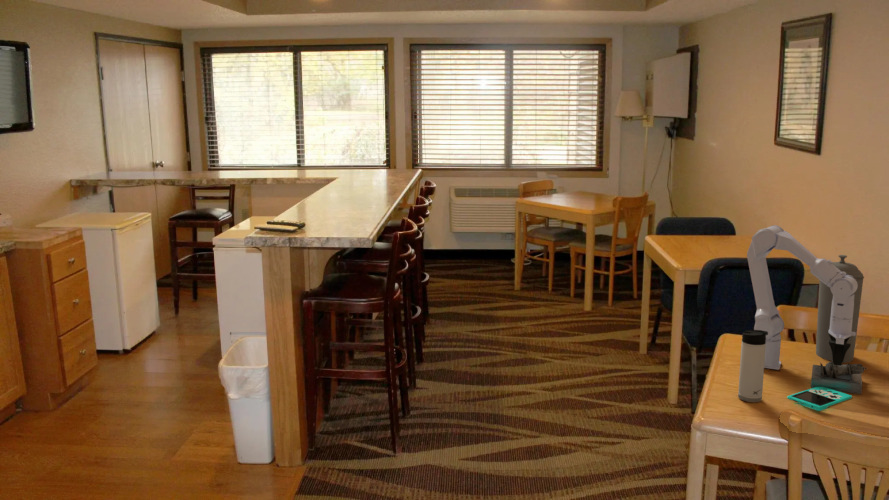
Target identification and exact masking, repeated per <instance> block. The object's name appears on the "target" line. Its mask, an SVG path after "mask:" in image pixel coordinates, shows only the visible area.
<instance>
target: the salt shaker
mask: <svg viewBox="0 0 889 500" xmlns="http://www.w3.org/2000/svg"><path fill="white" fill-rule="evenodd" d="M819 365H820V366H821V371H822V376H823V377H825V376H824V375H827V377H831V378H838V377H839V376H841V375H850V376H851V374H861V375H862V374H864V371H865V370H867V369H868V367H864V366H863V364H861V363H853V364H852V363H851V364H850V362H848V363H847V364H846V363H845V364H842V365H841V366H840V365H834V364H833V361H828V362H826V364H825V365H823V363H822V362H820V363H819ZM823 366H825V368H824V367H823Z"/></svg>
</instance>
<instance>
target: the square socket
mask: <svg viewBox="0 0 889 500" xmlns="http://www.w3.org/2000/svg"><path fill="white" fill-rule="evenodd" d="M823 367H824V368H825V365H823ZM824 376H825V377H823V376H822V371H821V365H820V364H819V365H817V364H812V369H811V377H810V379H811V380H810V388H814V387H825V388H829V389H833V390H836V391H839V392H842V393H848V394H855V395H862V389H863V380H862V373H861V374H851V376H850V375H841V376H839V377H838V378H831V377H827V375H824Z"/></svg>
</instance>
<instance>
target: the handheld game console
mask: <svg viewBox="0 0 889 500" xmlns="http://www.w3.org/2000/svg"><path fill="white" fill-rule="evenodd" d="M852 398H853V395H852V394H850V393H848V394H847V393H846V392H841V391H836V390H833V389H829V388H825V387H814V388H813V387H810V388H808V389H805V390H802V391H799V392H796V393H792V394H789V395H787V398H786V399H788V400H790V401H793V403H794V404H797V405H799V406H803V407H806V408H809V409H812V410H815V411H817V412H822V411H824V410H827V409H829V407H830V406H833V405H836V404H840V403H842V402H845V401H847V400H850V399H852Z"/></svg>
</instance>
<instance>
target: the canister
mask: <svg viewBox="0 0 889 500" xmlns="http://www.w3.org/2000/svg"><path fill="white" fill-rule="evenodd" d="M838 257H839V258H840V260H839V261H832V262H833V263H832V265H834V266H835V267H836V268H838V269H839V270H840V271H841V272H845V273H846V275H850V276H853V278H854V279H855V280H856V281H857V284H858V288H857V290H856V291H855V292H854V293H853V294H854V310H853V320H852V331H851V332H855V333H856V336H850V338H849V340H848V341H847V343H848V344H851V346H850V347H849V349H848V350H847V352H846V354H845V357H844V360H843V363H842V364H846V363H847V362H848V363H851V361H852V360H853V361H854V357H855V351H856V350H855V349H856V340H857V332H858V326H859V320H860V319H859V317H860V309H861V302H862V301H861V300H862V292H863V286H864V285H863V282H864V279H865V276H864V273H863V272H861V270H860V269H859V267H858V266H856V265H855V264H854V263H850V262H846V260H845V259H846V258H847V257H848V255H846V254H839V255H838ZM818 283H819V284H818V287H819V288H818V303H817V304H818V305H817V320H816V321H817V322H816V339H815V340H816V344H815V354H816V356H817V357H819V358H821V359H824V360H826V361H828V362H832V361H833V357H832V350H831V347H830V345H829V340H831V338H830V336H829V333H828V331H829V329H830V318H831V307H832V300H833V294H832V292H831V289H830V287H828V286H827V285H825V284H824V283H823V282H822V281H820V280H819V282H818ZM853 361H852V362H853ZM848 363H847V364H848Z"/></svg>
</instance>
